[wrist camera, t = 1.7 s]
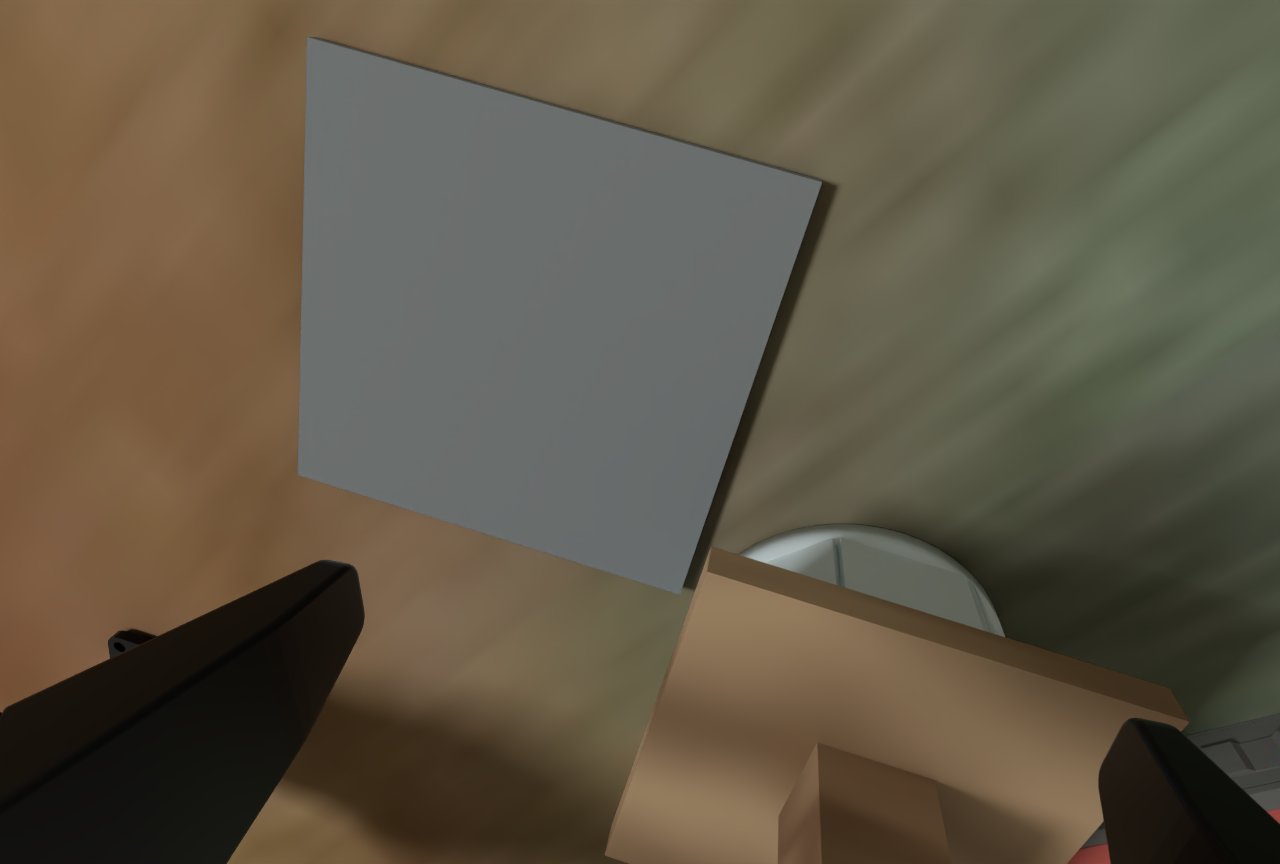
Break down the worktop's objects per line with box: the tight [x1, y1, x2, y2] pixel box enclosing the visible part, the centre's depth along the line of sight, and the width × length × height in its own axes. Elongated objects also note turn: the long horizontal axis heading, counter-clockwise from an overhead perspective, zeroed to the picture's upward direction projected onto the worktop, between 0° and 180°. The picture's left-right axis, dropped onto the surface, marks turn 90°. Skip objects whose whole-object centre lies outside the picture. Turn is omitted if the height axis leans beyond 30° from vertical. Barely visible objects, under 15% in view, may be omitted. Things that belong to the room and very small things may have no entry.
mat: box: [298, 37, 822, 595], centre depth 21 cm, size 13×13×1 cm
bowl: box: [738, 524, 1005, 637], centre depth 22 cm, size 10×10×4 cm
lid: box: [605, 546, 1190, 864], centre depth 18 cm, size 11×11×4 cm
